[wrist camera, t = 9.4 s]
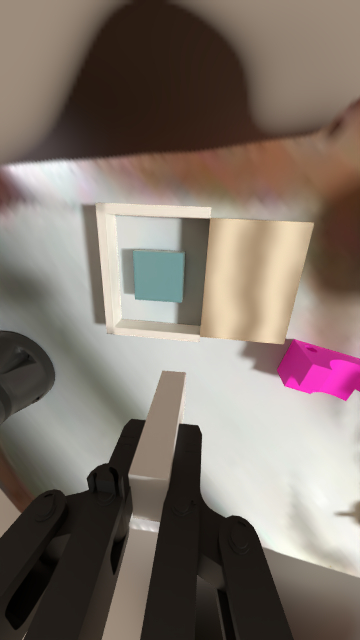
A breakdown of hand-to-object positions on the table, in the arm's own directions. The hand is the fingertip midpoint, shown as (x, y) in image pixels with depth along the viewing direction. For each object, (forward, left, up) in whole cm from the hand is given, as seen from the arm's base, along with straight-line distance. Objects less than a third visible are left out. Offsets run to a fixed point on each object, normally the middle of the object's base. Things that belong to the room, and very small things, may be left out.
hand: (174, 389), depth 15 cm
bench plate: (+7, +3, -22) cm, 24 cm away
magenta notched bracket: (+23, -11, -23) cm, 34 cm away
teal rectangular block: (-5, +3, -23) cm, 23 cm away
